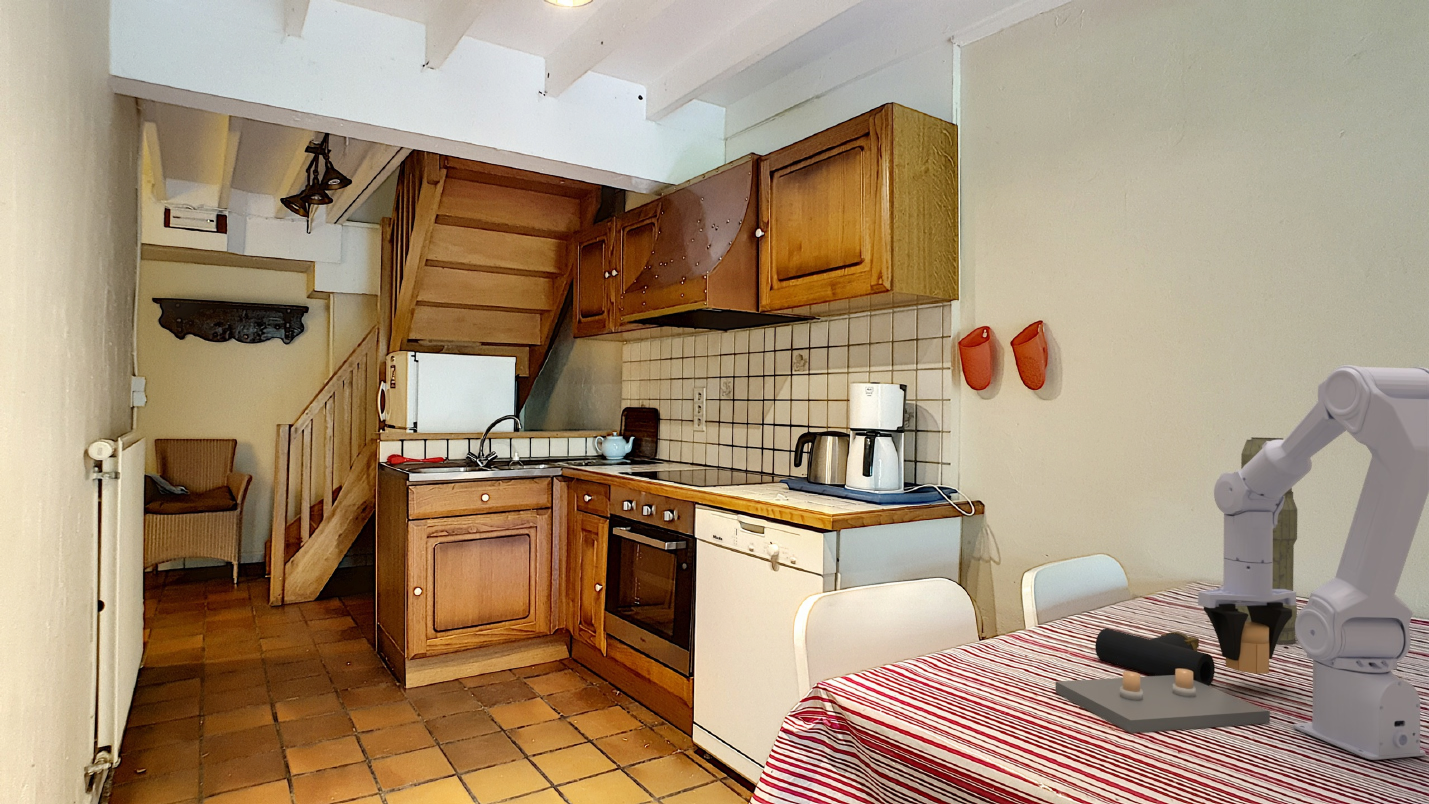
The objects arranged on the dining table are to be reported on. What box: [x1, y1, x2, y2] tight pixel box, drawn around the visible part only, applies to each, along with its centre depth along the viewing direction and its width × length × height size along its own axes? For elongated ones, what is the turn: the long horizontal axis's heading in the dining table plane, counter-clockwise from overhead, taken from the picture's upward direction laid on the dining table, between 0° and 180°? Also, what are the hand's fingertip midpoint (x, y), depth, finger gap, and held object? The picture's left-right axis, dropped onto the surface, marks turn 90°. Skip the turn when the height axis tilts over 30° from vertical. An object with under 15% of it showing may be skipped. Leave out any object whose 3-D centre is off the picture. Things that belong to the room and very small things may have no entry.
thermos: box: [1235, 437, 1298, 646], centre depth 140 cm, size 9×12×35 cm
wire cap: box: [1225, 621, 1270, 675], centre depth 111 cm, size 5×5×6 cm
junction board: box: [1055, 668, 1271, 734], centre depth 103 cm, size 14×20×4 cm
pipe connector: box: [1094, 627, 1216, 687], centre depth 120 cm, size 12×5×15 cm
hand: (1247, 657), depth 111 cm, fingers closed on wire cap, 5 cm apart
